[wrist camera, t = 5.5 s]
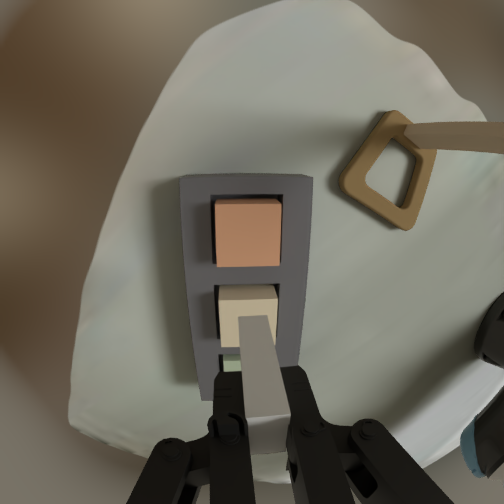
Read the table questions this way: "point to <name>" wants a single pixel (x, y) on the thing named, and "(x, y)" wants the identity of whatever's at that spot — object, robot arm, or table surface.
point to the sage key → (231, 362)
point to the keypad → (211, 277)
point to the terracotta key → (248, 232)
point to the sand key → (245, 308)
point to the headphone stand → (424, 149)
